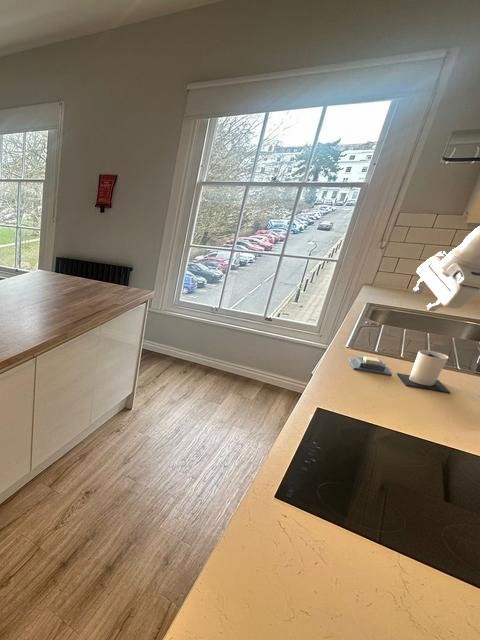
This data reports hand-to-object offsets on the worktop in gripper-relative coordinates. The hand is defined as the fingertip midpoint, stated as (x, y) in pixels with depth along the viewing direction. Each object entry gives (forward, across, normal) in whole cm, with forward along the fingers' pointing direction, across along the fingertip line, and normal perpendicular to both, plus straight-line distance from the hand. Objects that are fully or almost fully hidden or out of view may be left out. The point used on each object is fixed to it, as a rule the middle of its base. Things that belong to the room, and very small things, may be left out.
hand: (422, 300), depth 130 cm
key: (+25, +5, 0) cm, 26 cm away
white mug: (+22, +14, +10) cm, 28 cm away
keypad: (+27, +6, 0) cm, 28 cm away
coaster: (+22, +15, +10) cm, 28 cm away
